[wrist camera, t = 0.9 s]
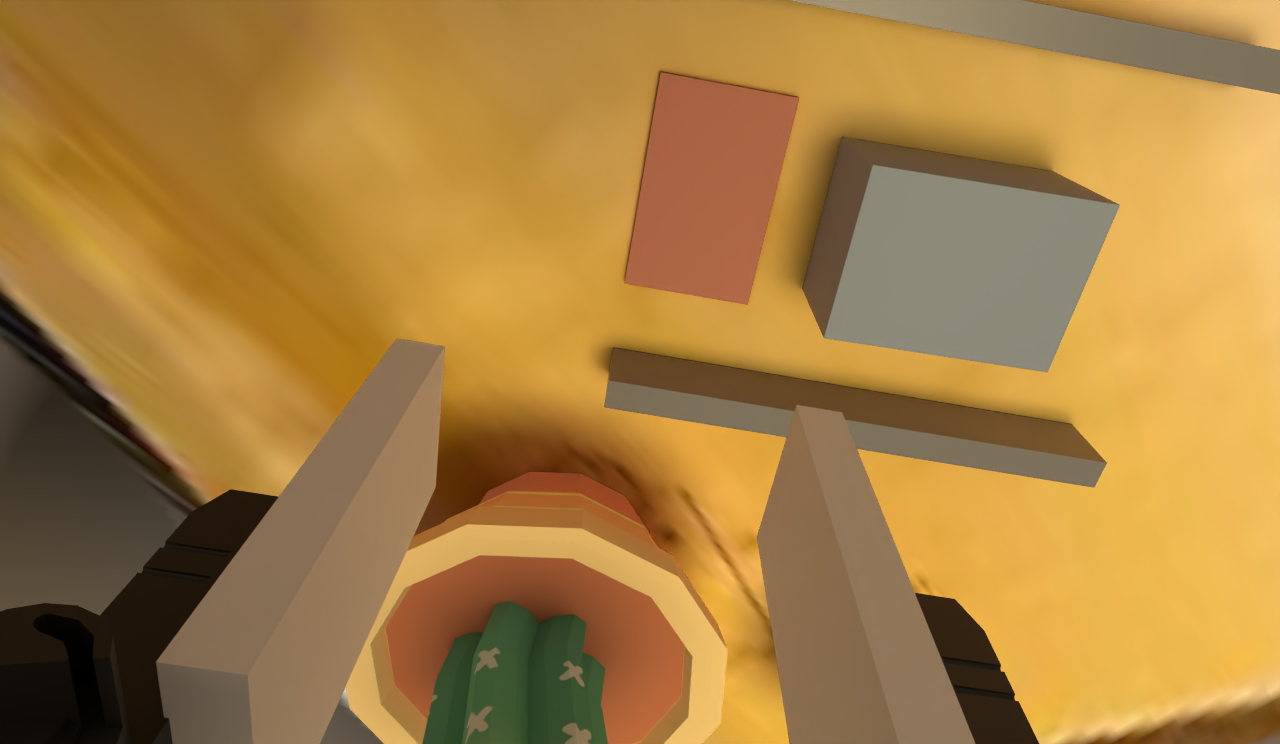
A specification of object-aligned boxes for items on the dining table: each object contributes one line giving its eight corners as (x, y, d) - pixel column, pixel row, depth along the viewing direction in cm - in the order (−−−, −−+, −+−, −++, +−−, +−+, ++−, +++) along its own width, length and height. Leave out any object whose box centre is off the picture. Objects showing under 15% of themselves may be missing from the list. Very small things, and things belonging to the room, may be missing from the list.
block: (841, 135, 29) (872, 164, 25) (1050, 170, 29) (1119, 205, 25) (801, 287, 32) (823, 338, 27) (994, 317, 32) (1047, 372, 28)
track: (683, -61, 26) (685, -66, 24) (1254, 49, 27) (1318, 57, 25) (608, 372, 34) (603, 407, 31) (1060, 447, 35) (1094, 487, 32)
